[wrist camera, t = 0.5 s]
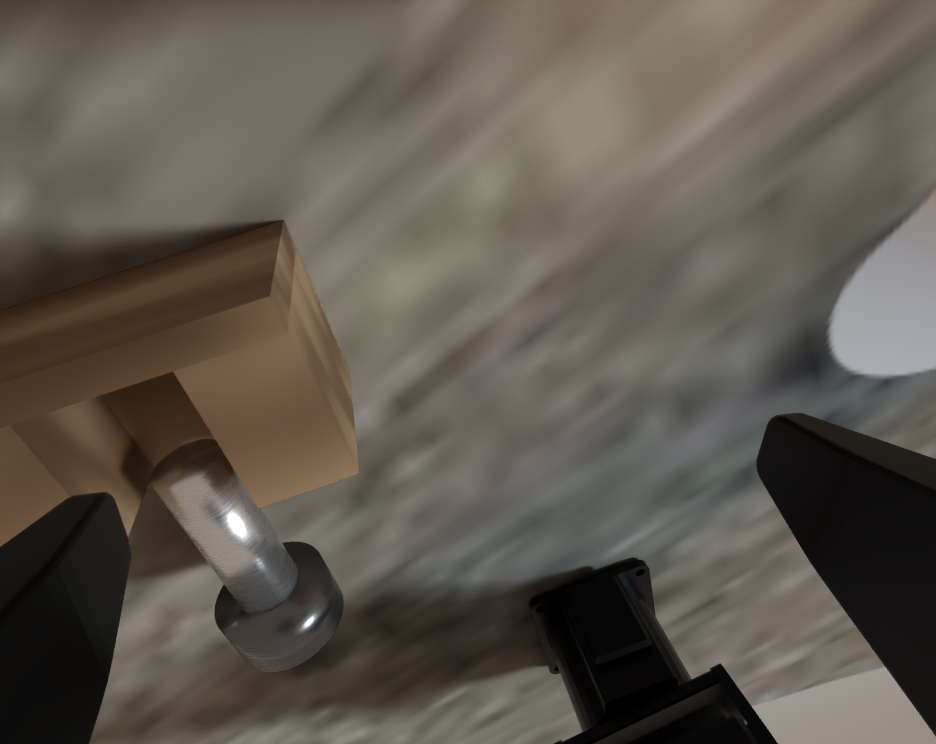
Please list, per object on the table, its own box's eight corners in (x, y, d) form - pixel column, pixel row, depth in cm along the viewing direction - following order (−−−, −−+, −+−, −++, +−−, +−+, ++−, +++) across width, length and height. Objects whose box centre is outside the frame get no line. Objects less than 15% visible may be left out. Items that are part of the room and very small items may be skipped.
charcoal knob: (341, 561, 24) (345, 648, 21) (246, 595, 24) (234, 689, 20) (255, 406, 20) (242, 483, 16) (138, 445, 20) (100, 532, 16)
